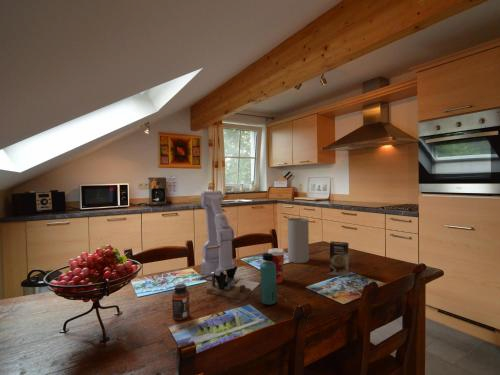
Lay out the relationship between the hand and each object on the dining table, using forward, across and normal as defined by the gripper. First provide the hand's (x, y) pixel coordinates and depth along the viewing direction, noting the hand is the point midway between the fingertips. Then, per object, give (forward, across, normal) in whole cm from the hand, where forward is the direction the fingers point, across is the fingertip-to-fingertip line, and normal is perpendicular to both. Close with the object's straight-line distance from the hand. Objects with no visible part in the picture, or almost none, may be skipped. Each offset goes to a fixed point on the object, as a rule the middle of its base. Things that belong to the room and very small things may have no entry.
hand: (226, 286), depth 113 cm
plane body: (+3, 0, -1) cm, 3 cm away
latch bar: (-4, -3, +7) cm, 9 cm away
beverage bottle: (+3, -3, -21) cm, 21 cm away
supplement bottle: (+3, -24, +5) cm, 25 cm away
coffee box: (+3, +42, -43) cm, 60 cm away
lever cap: (+1, 0, 0) cm, 1 cm away
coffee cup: (+3, +21, -16) cm, 27 cm away
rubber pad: (+3, +10, -5) cm, 12 cm away
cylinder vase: (+3, +56, -18) cm, 59 cm away
